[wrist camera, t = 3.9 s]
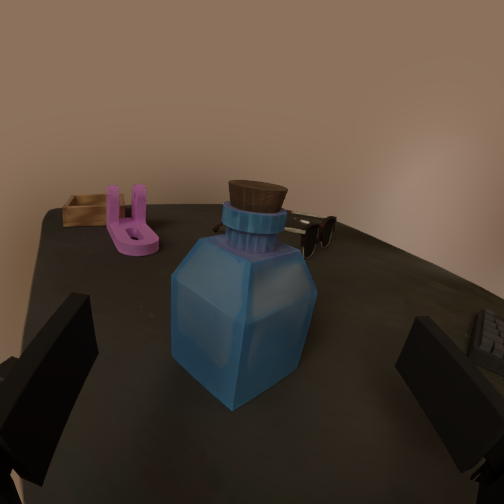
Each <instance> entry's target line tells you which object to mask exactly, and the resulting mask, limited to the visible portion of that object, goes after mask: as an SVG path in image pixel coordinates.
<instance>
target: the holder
mask: <svg viewBox="0 0 504 504" xmlns="http://www.w3.org/2000/svg"><path fill="white" fill-rule="evenodd" d="M106 207H107V194H93V195H71V197H70V198H69V199H68V201H67V202H66V204H65V205H64V206H63V227H74V226H105V225H107V220H106ZM119 218H125V201H124V194H119Z"/></svg>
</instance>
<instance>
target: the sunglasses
mask: <svg viewBox="0 0 504 504" xmlns="http://www.w3.org/2000/svg"><path fill="white" fill-rule="evenodd" d="M286 211H287V212H288V213H295V214H301V215H307V216H313V217H319V218H324V220H323V222H322V223H321V225H319V224H317V223H309V224H307V225H305V226H304V227H303V228H302V229H301V230H300V229H294V228H286V227H285V229H284V230H287V231H290V232H296V233H301V246H302V247H303V257H304V258H309V257H310V256H311V255H312V254H313V252H314V249H315V246H316V244H318V242H319V241H321V246H322V248H325V247H326V246H327V245H328V244H329V242H330V239H331V234H332V232H334V228H335V223H336V220H337V218H336V217H333V216H329V217H328V216H319V215H313V214H307V213H301V212H295V211H288V210H286ZM221 225H223V223H222V222H221V223H220V224H218V225H217V226H216V227H215V228H214V229H213V230H214V232H216V231H217V230H218V229H219V227H220V226H221Z"/></svg>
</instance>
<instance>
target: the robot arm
mask: <svg viewBox="0 0 504 504" xmlns="http://www.w3.org/2000/svg"><path fill="white" fill-rule="evenodd" d="M98 353H99V352H98V347H97V342H96V336H95V330H94V324H93V318H92V311H91V304H90V296H89V295H85V294H79V293H73V292H72V293H71V294H70V295H69V297H68V298H67V299H66V300H65V301H64V302H63V304H62V305H61V306H60V307H59V308H58V309H57V311H56V312H55V313H54V314H53V315H52V317H51V318H50V319H49V320H48V321H47V323H46V324H45V325H44V326H43V328H42V329H41V330H40V331H39V333H38V334H37V335H36V337H35V338H34V339H33V340H32V342H31V343H30V344H29V346H28V347H27V348H26V350H25V351H24V352H23V353H22V355H21V356H20V358H19V359H18V358H15V357H12V356H11V357H10V358H8V359H7V360H6V361H4V362H3V363H1V364H0V504H22V502H21V500H20V497H19V495H18V492H17V489H16V487H15V484H14V481H13V479H12V478H11V476H10V474H11V471H12V469H14V470H15V471H16V473H17V474H18V475H19V476H20V477H21V478H23V479H25V480H27V481H29V482H32V483H34V484H36V485H39V486H41V487H42V485H43V482H44V479H45V476H46V473H47V471H48V468H49V465H50V462H51V460H52V457H53V454H54V452H55V449H56V447H57V444H58V442H59V439H60V437H61V434H62V432H63V429H64V427H65V425H66V422H67V420H68V418H69V415H70V413H71V411H72V408H73V406H74V404H75V402H76V400H77V397H78V395H79V393H80V391H81V389H82V386H83V384H84V382H85V380H86V378H87V376H88V374H89V372H90V370H91V368H92V366H93V364H94V362H95V359H96V357H97V355H98ZM395 367H396V369H397V370H398V372H399V373H400V375H401V376H402V378H403V379H404V381H405V382H406V384H407V386H408V387H409V389H410V390H411V392H412V393H413V395H414V396H415V398H416V400H417V401H418V403H419V404H420V406H421V407H422V409H423V411H424V412H425V414H426V415H427V417H428V419H429V420H430V422H431V423H432V425H433V427H434V428H435V430H436V432H437V433H438V435H439V437H440V438H441V440H442V442H443V443H444V445H445V447H446V448H447V450H448V452H449V453H450V455H451V457H452V459H453V460H454V462H455V464H456V466H457V467H458V469H459V471H460V473H463V472H465V471H467V470H469V469H471V468H473V467H475V466H476V465H477V464H478V463H479V461H480V460H481V459H482V458H483V457H484V458H485V459H486V461H485V462H484V463H483V465H482V466H481V467H480V468H478V469H477V470H476V471H475V472H474V473H473V474H472V475H471V478H470V480H473V479H474V478H475V477H476V476H477V475H478V474H479V473H481V474H480V475H479V476H478V477H477V478H476V480H475V481H476V482H480V483H479V490H478V496H477V502H476V504H504V396H503V395H501V394H500V391H499V390H498V389H497V388H495V386H494V384H493V383H492V382H491V381H490V380H489V379H488V378H487V377H486V376H484V375H483V374H482V373H481V372H480V370H479V369H478V368H477V367H476V366H475V365H474V364H473V363H472V362H471V360H470V359H469V358H468V357H467V356H466V355H465V354H464V353H463V352H462V351H461V350H460V348H459V347H458V346H457V345H456V344H455V343H454V342H453V341H452V340H451V339H450V338H449V337H448V336H447V335H446V334H445V333H444V332H443V331H442V330H441V329H440V327H439V326H438V325H437V324H436V323H435V322H434V321H433V320H432V319H431V318H430V317H429V316H421V317H416V318H415V320H414V323H413V325H412V328H411V330H410V333H409V335H408V338H407V340H406V342H405V344H404V347H403V349H402V351H401V353H400V356H399V358H398V360H397V362H396V364H395Z"/></svg>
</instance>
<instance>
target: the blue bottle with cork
mask: <svg viewBox="0 0 504 504" xmlns="http://www.w3.org/2000/svg"><path fill="white" fill-rule="evenodd" d="M287 191H288V189H287V188H285V187H283V186H279V185H275V184H270V183H264V182H257V181H247V180H231V181H229V192H230V201H227V202H224V204H223V211H222V221H221V222H222V223H223V224H224V225H226V234H224V235H218V236H211V237H205V238H200V239H199V240H198V242H197V243H196V244H195V245H194V247H193V248H192V249H191V251H190V252H189V253H188V254H187V256H186V257H185V258H184V260H183V261H182V262H181V264H180V265H179V266H178V268H177V269H176V270H175V271H174V273H173V274H172V275H171V346H172V357H173V358H174V359H175V360H176V361H177V362H178V363H179V364H180V365H181V366H182V367H183V368H185V369H186V370H187V371H188V372H189V373H190V374H191V375H192V376H193V377H194V378H195V379H196V380H197V381H198V382H199V383H200V384H202V385H203V386H204V387H205V388H206V389H207V390H208V391H209V392H210V393H212V394H213V395H214V396H215V397H216V398H217V399H218V400H219V401H221V402H222V403H223V404H224V405H225V406H226V407H228V408H229V409H230V410H231V411H234V410H235V409H237V408H239V407H240V406H242V405H243V404H245V403H247V402H248V401H250V400H251V399H253V398H255V397H256V396H258V395H259V394H261V393H262V392H264V391H265V390H267V389H268V388H270V387H271V386H273V385H274V384H276V383H277V382H279V381H280V380H282V379H283V378H285V377H286V376H288V375H289V374H290V373H292V372H293V371H295V370H296V369H297V368H298V364H299V361H300V357H301V353H302V350H303V346H304V343H305V339H306V335H307V331H308V328H309V324H310V320H311V316H312V312H313V308H314V304H315V300H316V296H317V289H316V287H315V284H314V282H313V280H312V277H311V275H310V272H309V270H308V268H307V265H306V263H305V260H304V258H303V256H302V253H301V251H300V250H299V249H296V248H294V247H291V246H289V245H286V244H284V243H281V242H278V241H277V239H278V233H279V232H282V231H283V230H284V229H285V223H286V217H287V211H286V210H285V209H283V208H281V207H282V204H283V201H284V199H285V196H286V193H287Z"/></svg>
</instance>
